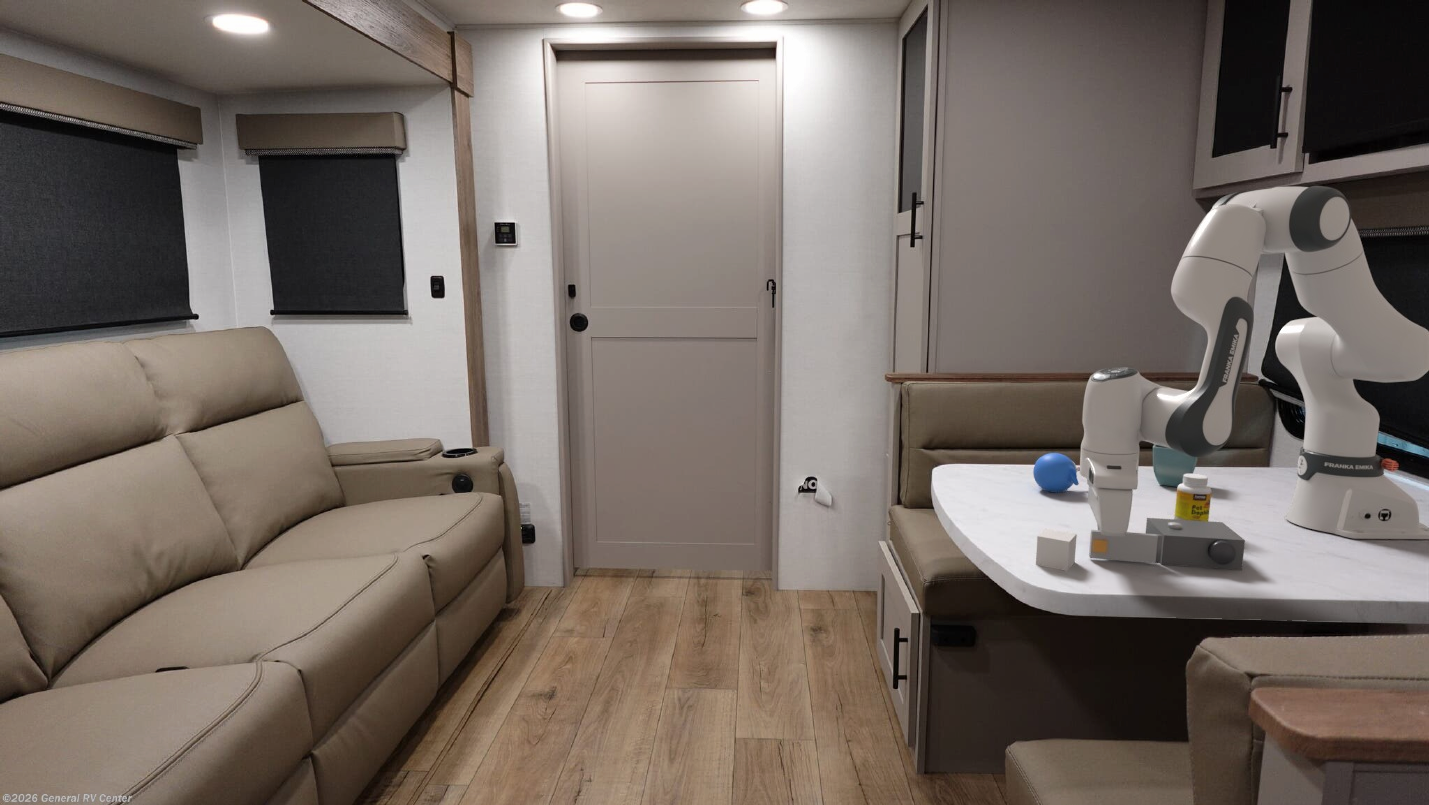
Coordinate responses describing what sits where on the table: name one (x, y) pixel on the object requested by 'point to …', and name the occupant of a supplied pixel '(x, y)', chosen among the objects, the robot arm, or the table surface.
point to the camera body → (1198, 543)
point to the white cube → (1056, 549)
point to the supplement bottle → (1193, 498)
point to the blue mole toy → (1055, 472)
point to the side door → (1126, 547)
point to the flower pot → (1171, 465)
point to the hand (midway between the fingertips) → (1104, 545)
